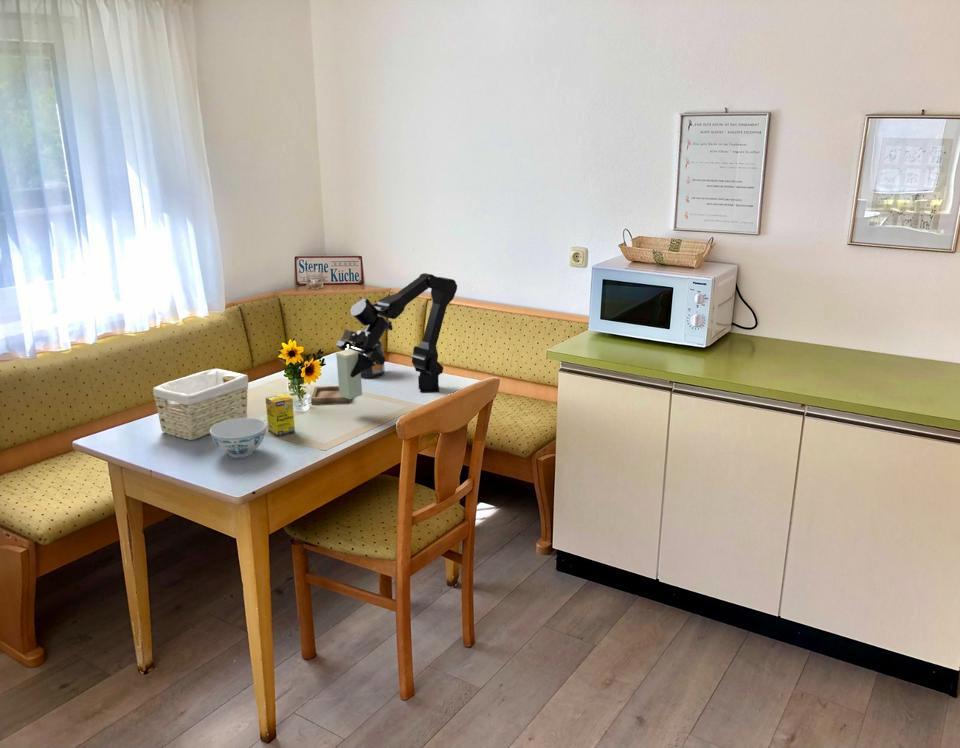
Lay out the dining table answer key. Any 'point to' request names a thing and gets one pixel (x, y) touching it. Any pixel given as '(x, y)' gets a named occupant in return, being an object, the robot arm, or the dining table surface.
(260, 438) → the chinaware
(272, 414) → the supplement box
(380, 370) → the supplement container
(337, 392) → the walnut tray
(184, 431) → the storage basket
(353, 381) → the tea tin
